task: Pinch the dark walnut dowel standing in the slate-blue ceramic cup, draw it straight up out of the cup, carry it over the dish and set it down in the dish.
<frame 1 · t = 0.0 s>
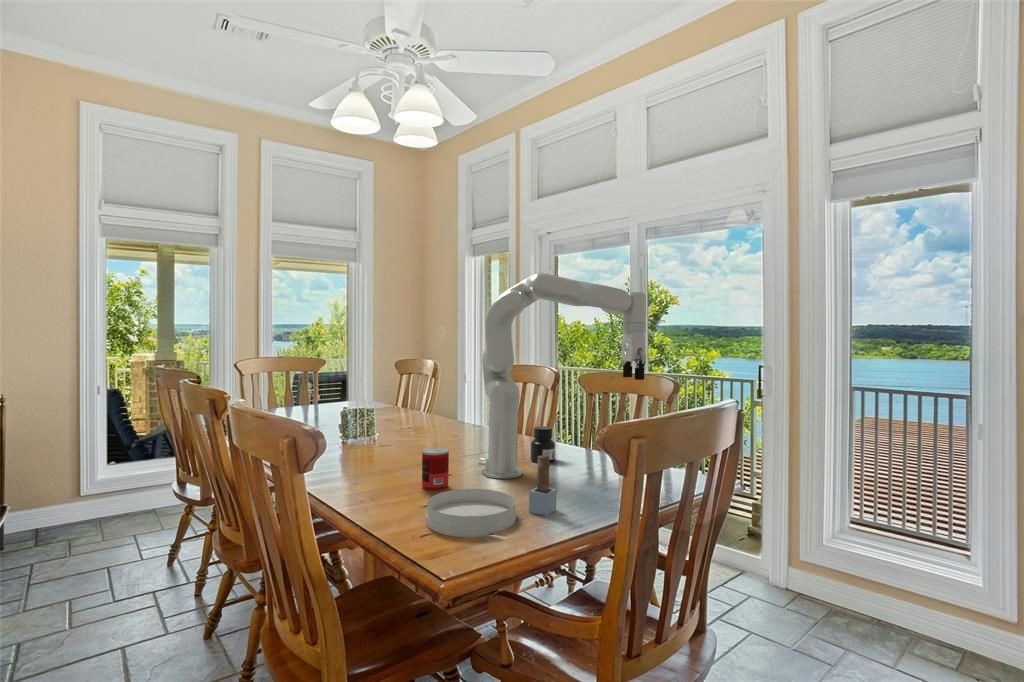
hand: (633, 378, 187), 31 cm above the table, tool pointing down, fingers open, 9 cm apart
dowel: (542, 511, 141), point 1 cm above the table, touching cup
dish: (471, 522, 135), on the table
canned food: (435, 487, 164), on the table
cup: (542, 513, 141), on the table
ink bottle: (542, 461, 199), on the table
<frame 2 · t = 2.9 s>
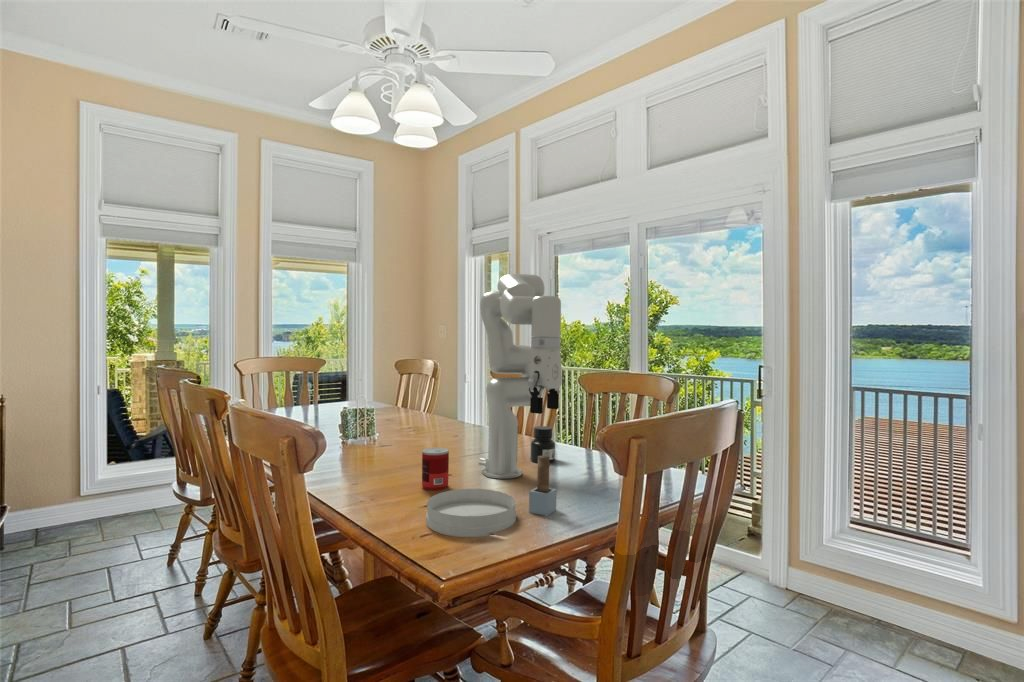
hand: (544, 410, 141), 26 cm above the table, tool pointing down, fingers open, 9 cm apart
nothing on the table moved.
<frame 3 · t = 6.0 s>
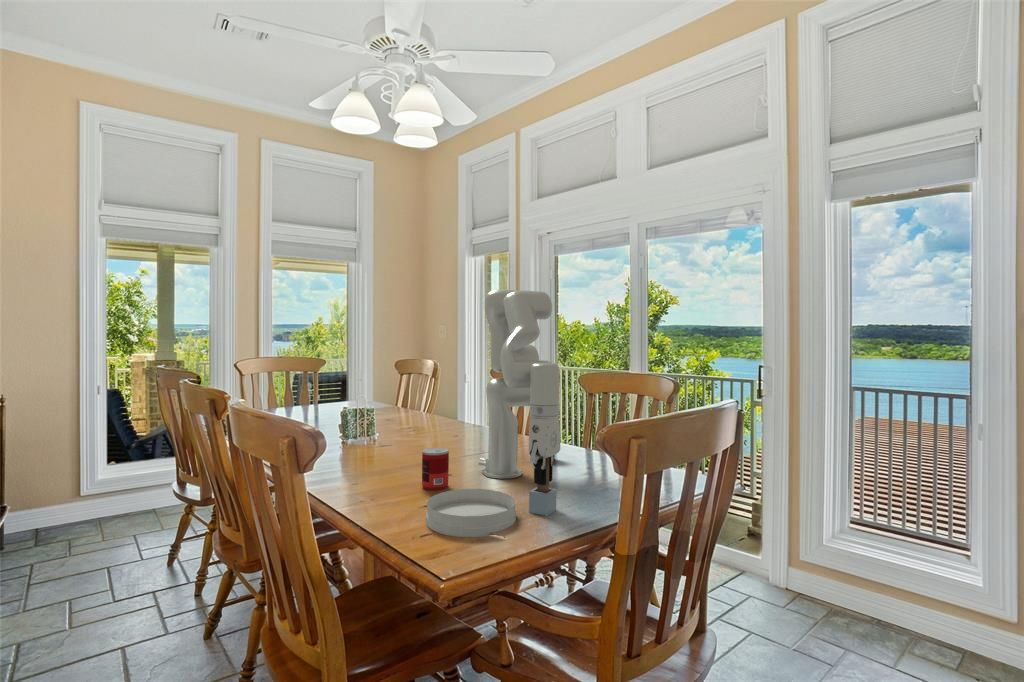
hand: (543, 481, 141), 8 cm above the table, tool pointing down, fingers closed on dowel, 3 cm apart
dowel: (542, 511, 141), point 1 cm above the table, touching cup, gripper
everything else where it was.
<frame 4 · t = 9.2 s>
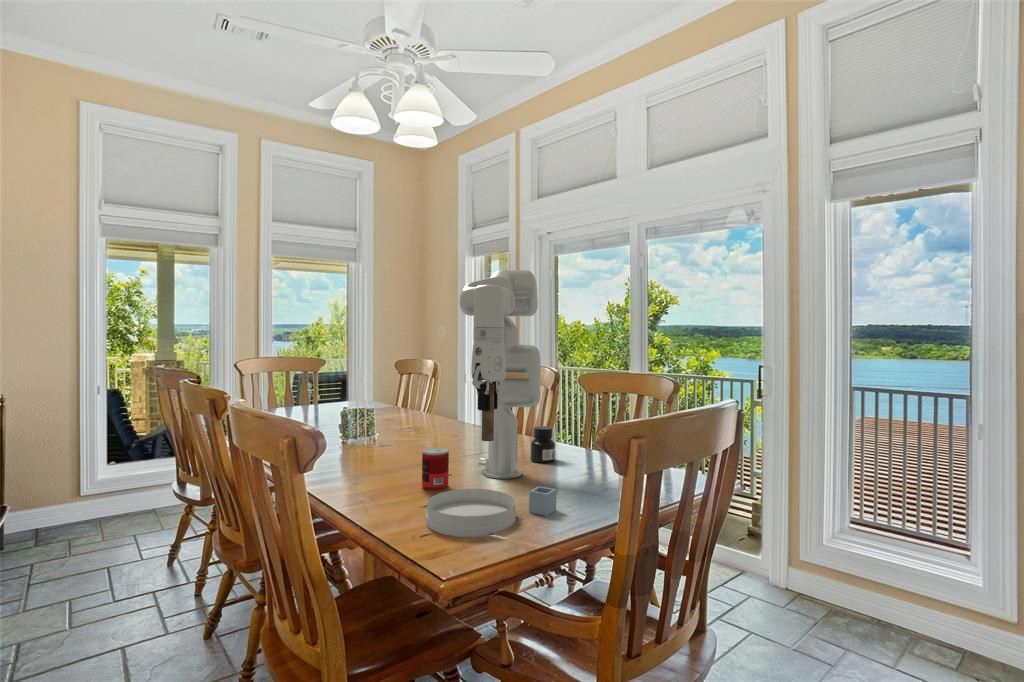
hand: (487, 408, 136), 27 cm above the table, tool pointing down, fingers closed on dowel, 3 cm apart
dowel: (487, 440, 136), point 20 cm above the table, touching gripper
everything else where it was.
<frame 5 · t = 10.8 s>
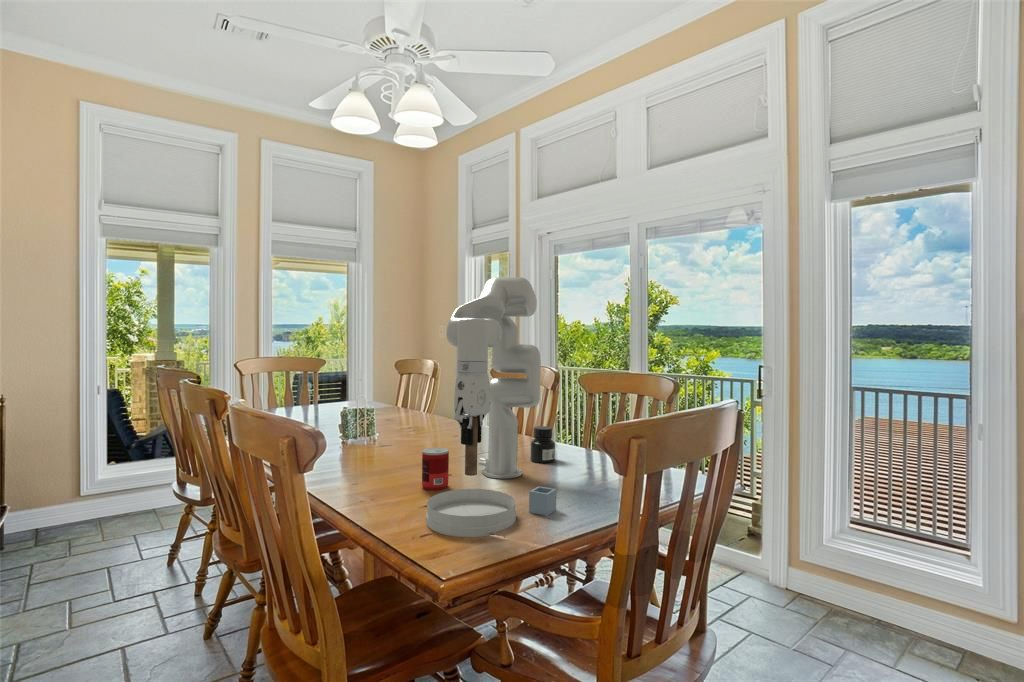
hand: (471, 442, 134), 19 cm above the table, tool pointing down, fingers closed on dowel, 3 cm apart
dowel: (471, 474, 134), point 12 cm above the table, touching gripper
everything else where it was.
when the fingers open (12 cm above the table, at t = 12.5 s): dowel drops 1 cm, resting on dish.
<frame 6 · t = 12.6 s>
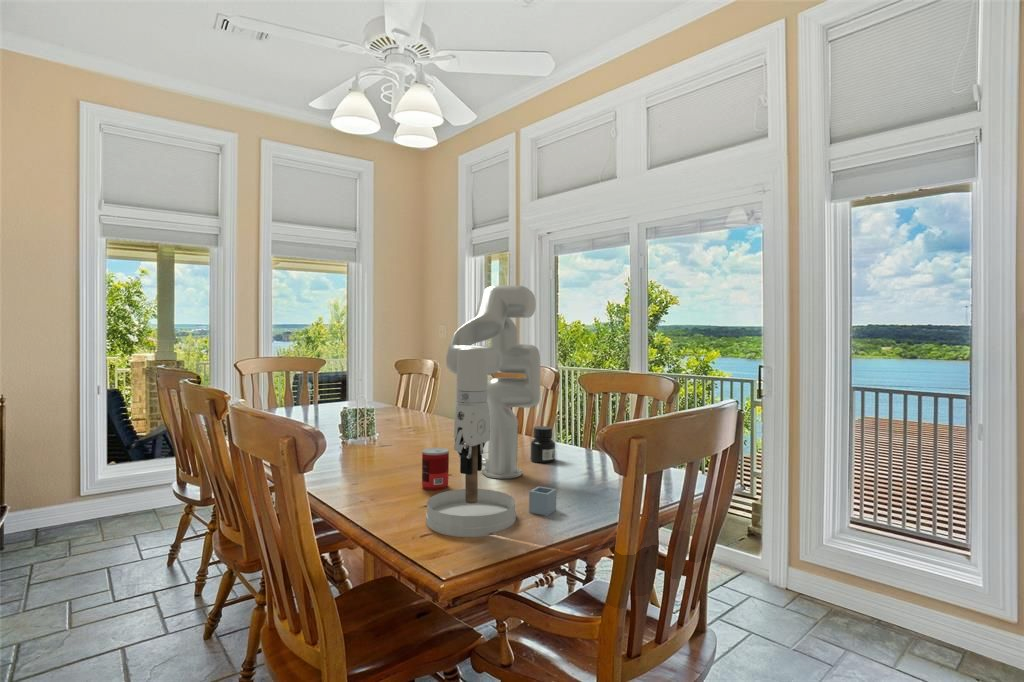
hand: (471, 471, 135), 12 cm above the table, tool pointing down, fingers open, 3 cm apart
dowel: (471, 501, 135), point 5 cm above the table, touching dish
dish: (471, 522, 135), on the table, touching dowel
everything else where it was.
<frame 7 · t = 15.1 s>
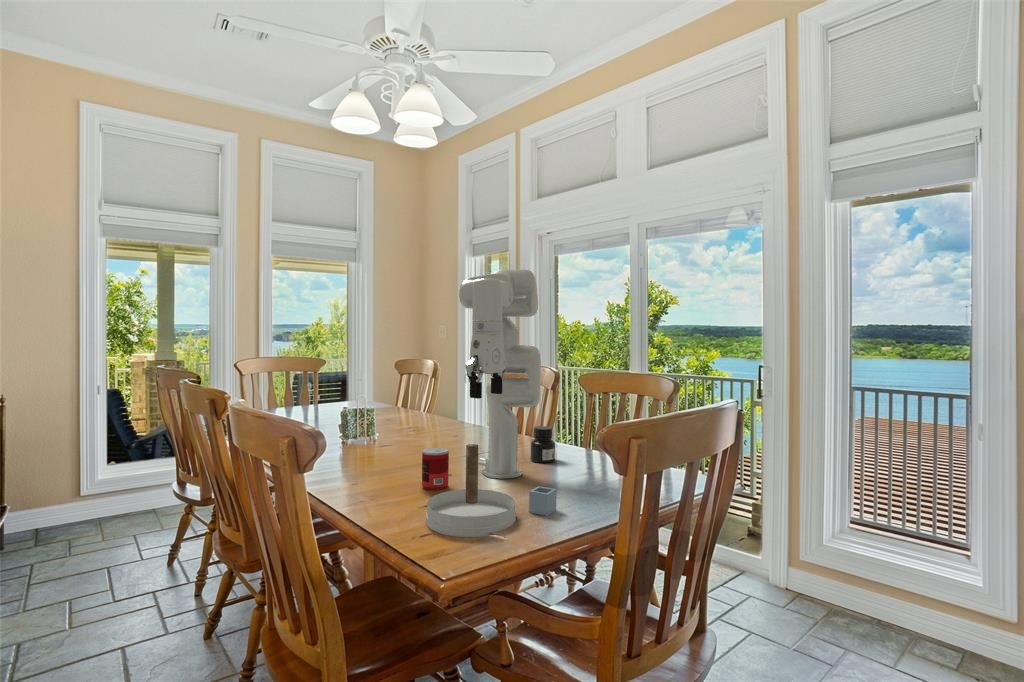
hand: (486, 395, 138), 30 cm above the table, tool pointing down, fingers open, 9 cm apart
nothing on the table moved.
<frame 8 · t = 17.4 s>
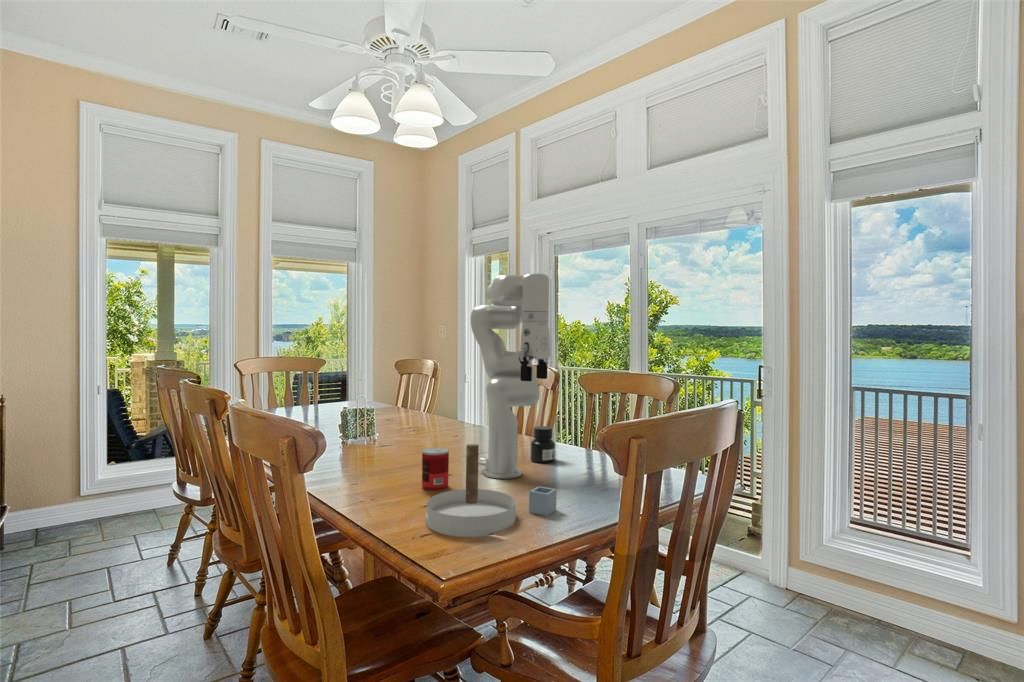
hand: (534, 379, 153), 33 cm above the table, tool pointing down, fingers open, 9 cm apart
nothing on the table moved.
at the end: dowel 0.2 cm from the dish (horizontally); dowel point 4.6 cm above the table; the gripper is holding nothing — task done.
